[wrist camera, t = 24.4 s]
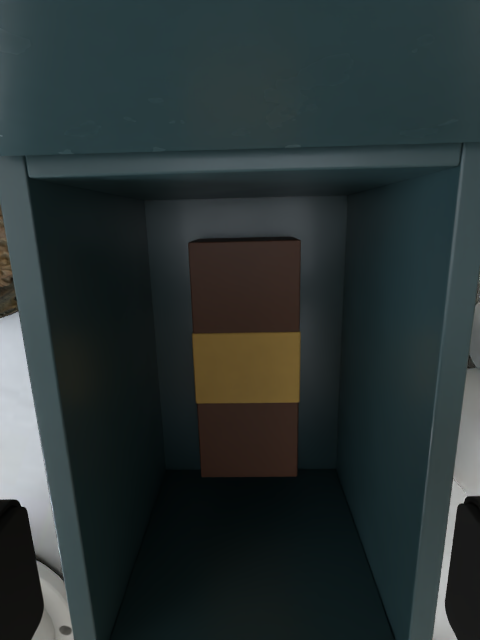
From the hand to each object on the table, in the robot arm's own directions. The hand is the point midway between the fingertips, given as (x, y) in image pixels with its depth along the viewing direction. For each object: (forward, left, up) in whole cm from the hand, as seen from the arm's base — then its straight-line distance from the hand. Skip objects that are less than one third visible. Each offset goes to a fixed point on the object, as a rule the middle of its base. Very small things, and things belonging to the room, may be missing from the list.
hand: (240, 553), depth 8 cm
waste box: (0, 0, -15) cm, 15 cm away
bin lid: (0, +10, +6) cm, 12 cm away
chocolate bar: (0, 0, -14) cm, 14 cm away
